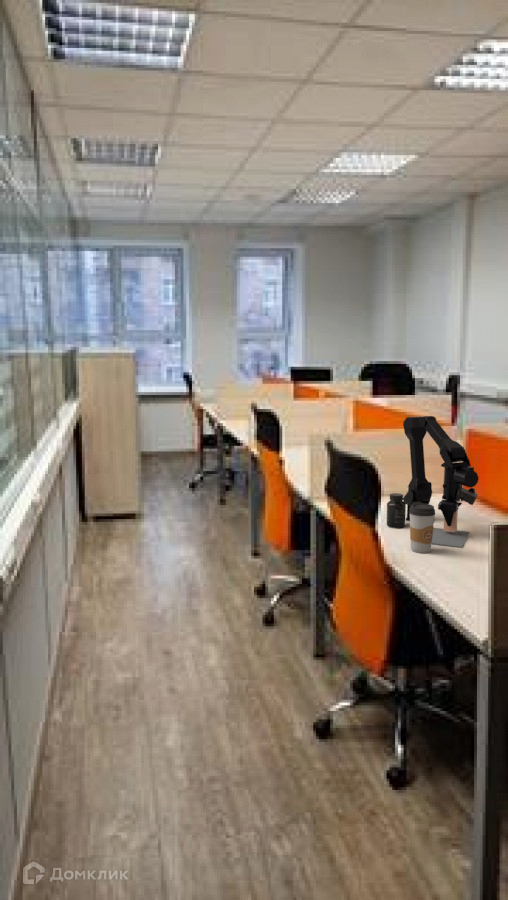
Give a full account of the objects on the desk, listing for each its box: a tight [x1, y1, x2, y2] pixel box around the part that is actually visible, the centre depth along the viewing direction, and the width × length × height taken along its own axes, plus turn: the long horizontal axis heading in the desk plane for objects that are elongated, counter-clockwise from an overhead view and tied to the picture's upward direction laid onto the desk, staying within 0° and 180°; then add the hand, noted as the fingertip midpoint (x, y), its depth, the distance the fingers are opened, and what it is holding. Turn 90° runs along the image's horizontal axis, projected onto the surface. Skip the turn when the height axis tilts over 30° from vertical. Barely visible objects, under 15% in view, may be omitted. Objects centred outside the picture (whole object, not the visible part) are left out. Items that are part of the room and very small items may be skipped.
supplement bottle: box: [386, 492, 407, 529], centre depth 249 cm, size 7×7×12 cm
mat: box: [431, 527, 470, 549], centre depth 236 cm, size 13×19×1 cm
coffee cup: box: [409, 503, 436, 554], centre depth 221 cm, size 8×8×15 cm
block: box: [443, 509, 459, 532], centre depth 239 cm, size 4×4×8 cm
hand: (450, 524), depth 239 cm, fingers closed on block, 4 cm apart
